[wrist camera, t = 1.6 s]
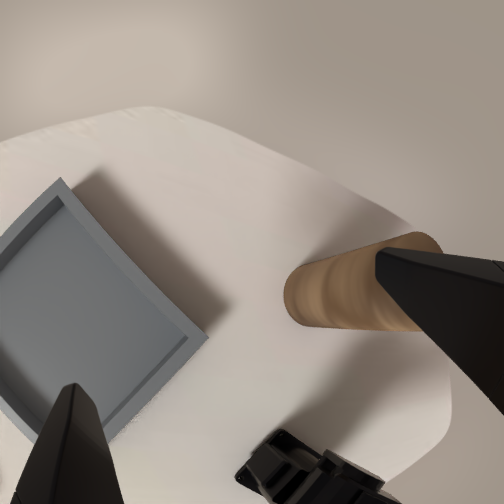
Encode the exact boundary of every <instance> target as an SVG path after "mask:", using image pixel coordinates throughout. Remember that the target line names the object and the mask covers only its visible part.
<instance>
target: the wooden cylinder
mask: <svg viewBox="0 0 504 504" xmlns="http://www.w3.org/2000/svg"><path fill="white" fill-rule="evenodd" d="M385 247H394V248H402V249H410V250H419V251H427V252H434V253H442V254H444V253H443V251H442V250H441V248H440V246H439V245H438V244H437V242H436V241H435V240H434V239H433V238H431V237H430V236H429V235H427V234H425V233H422V232H411V233H408V234H404V235H401V236H398V237H395V238H392V239H389V240H385V241H382V242H379V243H376V244H373V245H369V246H366V247H363V248H360V249H356V250H353V251H350V252H346V253H343V254H340V255H337V256H333V257H330V258H326V259H323V260H320V261H316V262H313V263H310V264H306V265H303V266H300V267H298V268H297V269H295V270H294V271H293V272H292V273H291V274H290V276H289V277H288V279H287V281H286V284H285V287H284V303H285V307H286V309H287V311H288V313H289V315H290V316H291V317H292V318H293V319H294V320H295V321H296V322H297V323H299V324H301V325H304V326H308V327H321V328H337V329H356V330H380V331H422V330H421V329H420V328H419V327H418V326H417V325H416V324H415V323H414V322H413V321H412V320H411V319H410V318H409V317H408V316H407V315H406V314H405V313H404V312H403V310H402V309H401V308H400V307H399V306H398V305H397V304H396V302H395V301H394V300H393V299H392V298H391V297H390V295H389V294H388V293H387V292H386V291H385V290H384V289H383V287H382V286H381V285H380V284H379V283H378V282H377V280H376V278H375V255H376V252H377V251H379V250H381V249H383V248H385Z"/></svg>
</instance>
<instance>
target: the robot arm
mask: <svg viewBox="0 0 504 504" xmlns="http://www.w3.org/2000/svg"><path fill="white" fill-rule="evenodd" d="M375 278H376V280H377V282H378V283H379V284H380V285H381V286H382V287H383V289H384V290H385V291H386V292H387V293H388V294H389V295H390V297H391V298H392V299H393V300H394V301H395V302H396V304H397V305H398V306H399V307H400V308H401V309H402V310H403V312H404V313H405V314H406V315H407V316H408V317H409V318H410V319H411V320H412V321H413V322H414V323H415V324H416V325H417V326H418V327H419V328H420V329H421V330H422V331H423V332H424V333H425V334H426V335H428V336H429V337H430V338H431V339H432V340H433V341H434V342H435V343H436V344H437V345H438V346H439V347H440V348H441V349H442V350H443V351H444V352H445V353H446V354H447V355H448V356H449V357H450V358H451V360H453V362H454V363H455V364H456V365H457V366H458V367H459V368H460V369H461V370H462V371H463V372H464V373H465V374H466V375H467V376H468V377H469V378H470V379H471V380H472V381H473V382H474V383H475V384H476V386H477V387H478V388H479V389H480V390H481V391H482V392H483V393H484V394H485V395H486V396H487V397H488V398H489V400H490V401H491V402H492V403H493V404H494V405H495V406H496V408H497V409H498V410H499V411H500V412H501V413H502V414H503V415H504V262H502V261H495V260H492V261H491V260H487V259H480V258H473V257H464V256H457V255H449V254H442V253H434V252H427V251H419V250H410V249H402V248H394V247H385V248H383V249H381V250H379V251H377V252H376V255H375ZM281 433H283V435H282V436H280V434H281ZM319 459H320V460H319ZM241 476H242V478H241V479H238V478H239V477H241ZM234 478H235V480H236V481H237V482H238V483H240V484H242V485H243V486H245V487H247V488H249V489H251V490H252V491H254V492H256V493H258V494H260V495H262V496H264V497H265V499H266V500H267V501H268V502H269V504H402V503H400V502H399V501H398V500H397V499H395V498H394V497H393V496H392V495H391V494H389V493H387V492H385V491H383V490H381V488H382V486H383V485H384V484H385V481H384V480H382V479H381V478H380V477H379V476H377V475H375V474H373V473H371V472H369V471H367V470H366V469H364V468H362V467H360V466H358V465H356V464H354V463H352V462H350V461H349V460H347V459H345V458H343V457H341V456H339V455H337V454H335V453H334V452H332V451H330V450H328V449H326V450H325V451H324V453H323V456H321V455H320V454H318V453H317V452H315V451H314V450H312V449H311V448H309V447H308V446H306V445H305V444H304V443H302V442H301V441H299V440H298V439H296V438H295V437H294V436H292V435H291V434H289V433H288V432H287V431H285V430H284V429H279V430H277V431H276V432H275V434H274V435H273V436H272V437H271V438H270V439H269V440H268V441H267V442H266V443H265V444H263V445H262V446H261V447H260V449H259V450H258V451H257V452H256V453H255V454H254V455H253V456H252V457H251V458H250V459H249V460H248V461H247V462H246V465H245V466H244V467H243V468H242V469H241V470H240V471H239V472H238V473H237V474H236V475H235V477H234ZM10 504H124V501H123V498H122V495H121V491H120V487H119V484H118V480H117V476H116V472H115V468H114V464H113V460H112V456H111V453H110V450H109V447H108V444H107V441H106V437H105V434H104V431H103V428H102V424H101V421H100V417H99V414H98V410H97V407H96V405H95V403H94V401H93V400H92V399H91V398H90V397H89V395H88V394H87V393H86V392H85V391H84V389H83V388H82V387H81V386H80V385H79V384H78V383H71V384H68V385H65V386H64V387H63V388H62V389H61V391H60V393H59V395H58V397H57V399H56V401H55V403H54V405H53V407H52V409H51V411H50V413H49V415H48V417H47V419H46V421H45V423H44V425H43V427H42V429H41V431H40V434H39V436H38V438H37V440H36V442H35V444H34V447H33V449H32V451H31V453H30V456H29V458H28V460H27V463H26V465H25V467H24V470H23V472H22V474H21V477H20V479H19V482H18V484H17V487H16V492H14V495H13V497H12V500H11V503H10Z"/></svg>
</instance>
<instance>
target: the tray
mask: <svg viewBox="0 0 504 504" xmlns="http://www.w3.org/2000/svg"><path fill="white" fill-rule="evenodd" d="M208 338H209V337H208V336H207V335H206V334H205V333H204V332H203V331H202V330H201V329H200V328H198V327H197V326H196V325H195V324H194V323H193V322H192V321H191V320H190V319H189V318H188V317H187V316H186V315H185V314H184V313H183V312H182V311H181V310H180V309H179V308H178V307H177V306H176V305H175V304H174V303H173V302H172V301H171V300H170V299H169V298H168V297H167V296H166V295H165V294H164V293H163V292H162V291H161V290H160V289H159V288H158V287H157V286H156V285H155V284H154V283H153V282H152V281H151V280H150V279H149V278H148V277H147V276H146V275H145V274H144V273H143V272H142V271H141V270H140V269H139V267H138V266H137V265H136V264H135V263H134V262H133V261H132V260H131V259H130V258H129V257H128V256H127V255H126V253H125V252H124V251H123V250H122V249H121V248H120V247H119V246H118V245H117V244H116V242H115V241H114V240H113V239H112V238H111V237H110V236H109V235H108V233H107V232H106V231H105V230H104V229H103V228H102V227H101V225H100V224H99V223H98V222H97V221H96V220H95V219H94V217H93V216H92V215H91V214H90V213H89V211H88V210H87V209H86V208H85V207H84V206H83V204H82V203H81V202H80V201H79V199H78V198H77V197H76V196H75V195H74V193H73V192H72V191H71V190H70V188H69V187H68V186H67V185H66V183H65V182H64V181H63V180H62V178H61V177H60V178H59V179H58V180H56V181H55V182H54V183H53V184H52V185H51V186H50V187H49V188H48V189H47V190H46V191H45V192H43V193H42V194H41V195H40V196H39V197H38V198H37V199H36V200H35V201H34V202H33V203H32V204H31V205H30V206H29V207H28V208H27V209H26V210H25V211H24V212H23V213H22V214H21V215H20V216H19V217H18V218H17V219H16V221H15V222H14V223H13V224H12V225H11V226H10V227H9V228H8V229H7V230H6V231H5V232H4V234H3V235H2V236H1V237H0V410H1V411H2V412H3V413H4V414H5V415H6V416H7V417H8V418H9V420H10V421H11V422H12V423H13V424H14V425H15V426H16V427H17V428H18V429H19V430H20V431H21V432H22V433H23V434H24V435H25V436H26V437H27V438H28V439H29V440H30V441H31V442H32V443H33V444H35V442H36V440H37V438H38V436H39V434H40V431H41V429H42V427H43V425H44V423H45V421H46V419H47V417H48V415H49V413H50V411H51V409H52V407H53V405H54V403H55V401H56V399H57V397H58V395H59V393H60V391H61V389H62V388H63V387H64V386H65V385H68V384H71V383H78V384H79V385H80V386H81V387H82V388H83V389H84V391H85V392H86V393H87V394H88V395H89V397H90V398H91V399H92V400H93V401H94V403H95V405H96V407H97V410H98V414H99V417H100V421H101V424H102V428H103V431H104V434H105V437H106V441H107V444H108V443H109V442H110V441H111V440H112V439H113V438H114V437H115V436H116V435H117V434H118V433H119V432H120V431H121V430H122V429H123V428H124V426H125V425H126V424H127V423H128V422H129V421H130V420H131V419H132V418H133V417H134V416H135V415H136V414H137V413H138V412H139V411H140V410H141V409H142V408H143V407H144V406H145V405H146V404H147V403H148V402H149V401H150V400H151V399H152V398H153V397H154V395H155V394H156V393H157V392H158V391H159V390H160V389H161V388H162V387H163V386H164V385H165V384H166V383H167V382H168V381H169V380H170V379H171V378H172V377H173V376H174V374H175V373H176V372H177V371H178V370H179V369H180V368H181V367H182V366H183V365H184V364H185V363H186V362H187V361H188V360H189V358H190V357H191V356H192V355H193V354H194V353H195V352H196V351H197V350H198V349H199V348H200V347H201V346H202V345H203V343H204V342H205V341H206V340H207V339H208Z"/></svg>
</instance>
